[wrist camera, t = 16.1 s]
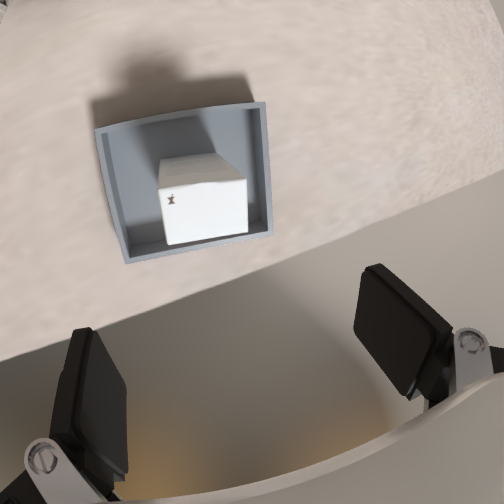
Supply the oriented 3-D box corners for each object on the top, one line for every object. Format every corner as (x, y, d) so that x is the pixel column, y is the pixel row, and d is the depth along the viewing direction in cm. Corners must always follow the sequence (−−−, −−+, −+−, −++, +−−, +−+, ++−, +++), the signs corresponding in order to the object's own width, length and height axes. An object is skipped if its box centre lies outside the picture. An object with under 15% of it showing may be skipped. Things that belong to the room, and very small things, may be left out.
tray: (255, 102, 29) (265, 101, 26) (264, 223, 35) (273, 235, 32) (101, 127, 26) (94, 129, 23) (128, 249, 32) (125, 264, 29)
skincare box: (164, 198, 30) (164, 247, 20) (159, 158, 28) (154, 187, 18) (220, 190, 32) (250, 234, 22) (218, 151, 30) (247, 175, 20)
